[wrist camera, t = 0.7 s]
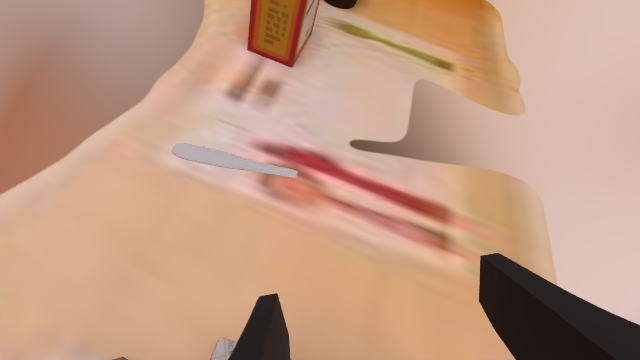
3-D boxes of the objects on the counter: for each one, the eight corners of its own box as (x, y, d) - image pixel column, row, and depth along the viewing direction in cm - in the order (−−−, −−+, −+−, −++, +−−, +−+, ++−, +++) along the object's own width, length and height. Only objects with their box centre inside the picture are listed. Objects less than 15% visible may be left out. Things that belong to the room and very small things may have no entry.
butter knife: (178, 133, 36) (169, 153, 34) (412, 187, 40) (414, 208, 39) (179, 136, 37) (169, 157, 35) (410, 190, 41) (412, 211, 39)
